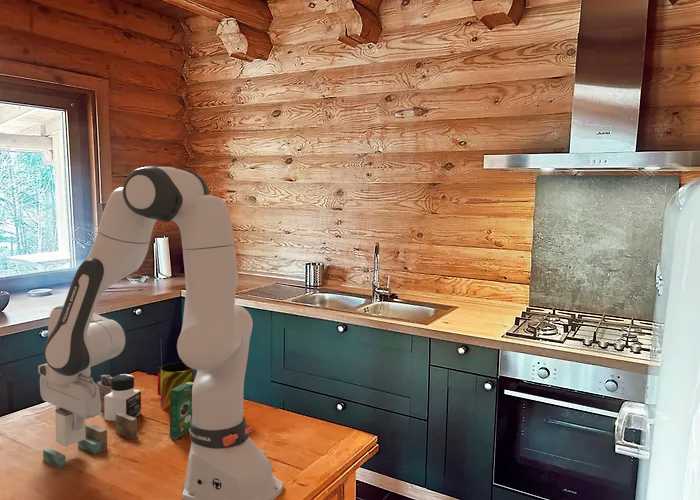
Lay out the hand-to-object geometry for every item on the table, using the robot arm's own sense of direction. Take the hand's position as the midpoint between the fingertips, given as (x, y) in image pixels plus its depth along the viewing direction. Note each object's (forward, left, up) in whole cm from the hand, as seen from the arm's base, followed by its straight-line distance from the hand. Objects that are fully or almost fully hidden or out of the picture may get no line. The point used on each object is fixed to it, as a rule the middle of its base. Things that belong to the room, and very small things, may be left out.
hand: (70, 426), depth 129 cm
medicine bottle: (+11, -21, -8) cm, 25 cm away
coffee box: (-11, -24, -8) cm, 28 cm away
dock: (0, -5, -8) cm, 9 cm away
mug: (+7, -35, -8) cm, 37 cm away
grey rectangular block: (0, 0, -4) cm, 4 cm away
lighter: (+20, -22, -8) cm, 31 cm away
